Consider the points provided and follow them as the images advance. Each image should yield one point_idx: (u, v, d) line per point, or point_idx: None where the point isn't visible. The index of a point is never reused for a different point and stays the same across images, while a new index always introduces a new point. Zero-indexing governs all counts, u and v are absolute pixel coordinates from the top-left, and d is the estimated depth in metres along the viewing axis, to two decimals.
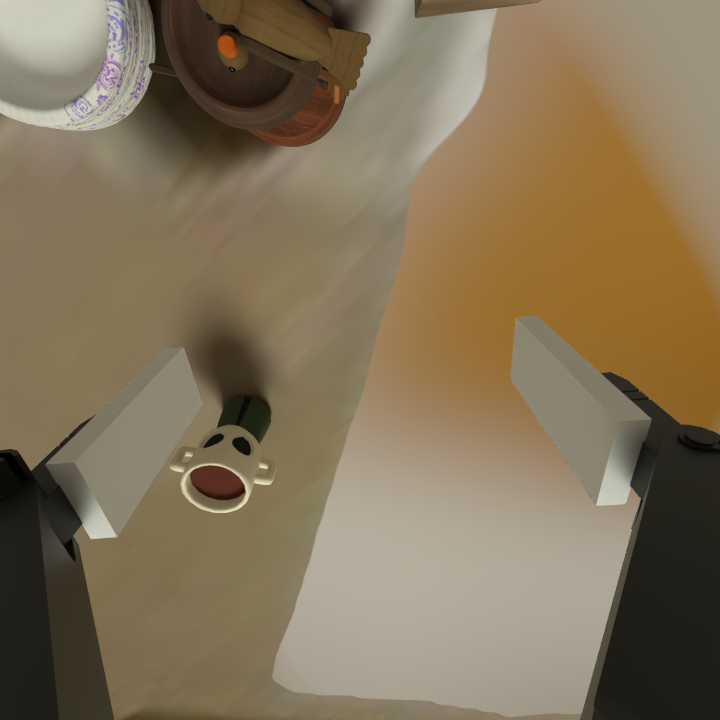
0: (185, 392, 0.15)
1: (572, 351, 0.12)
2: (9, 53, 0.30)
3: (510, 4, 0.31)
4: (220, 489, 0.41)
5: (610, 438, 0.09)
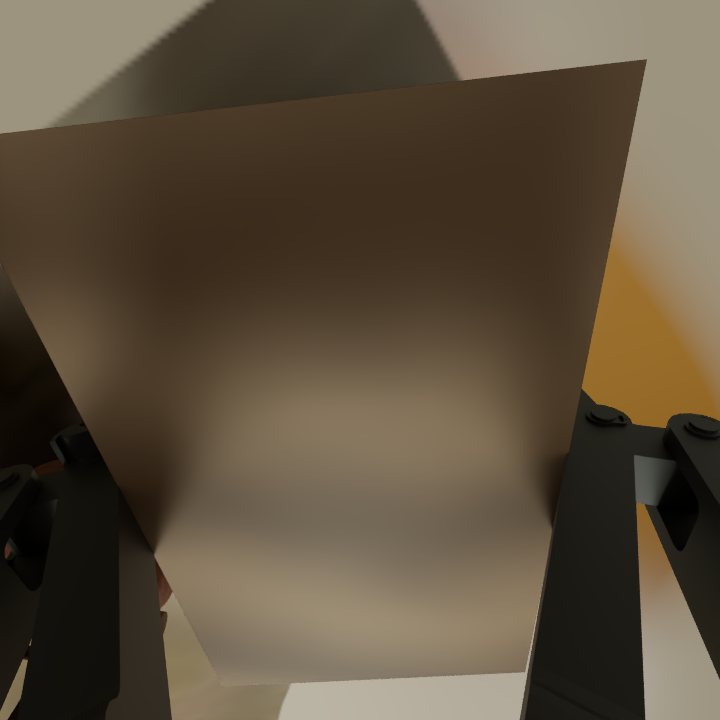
0: None
1: None
2: None
3: None
4: None
5: None
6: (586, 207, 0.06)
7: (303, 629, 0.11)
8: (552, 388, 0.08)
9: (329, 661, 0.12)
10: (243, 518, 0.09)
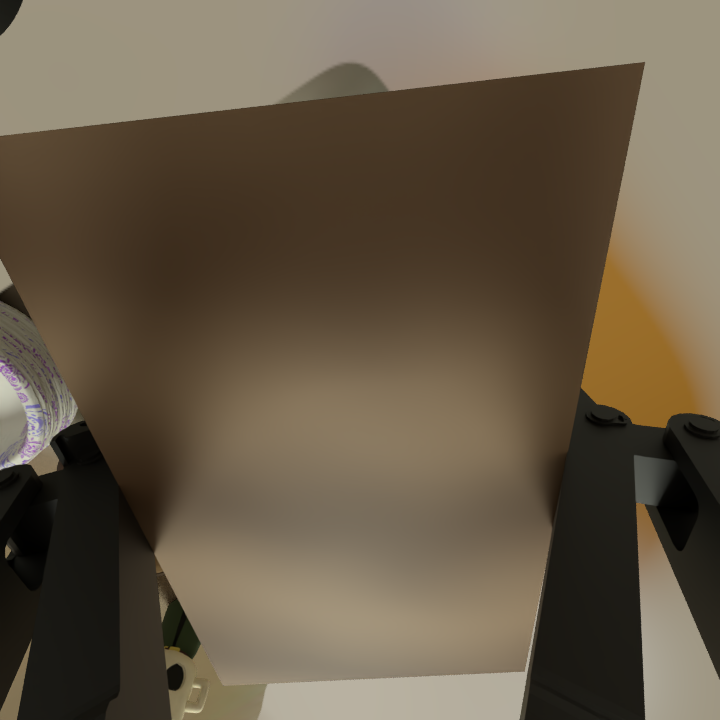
0: None
1: None
2: None
3: None
4: None
5: None
6: (585, 208, 0.06)
7: (303, 628, 0.11)
8: (551, 388, 0.08)
9: (329, 660, 0.12)
10: (243, 518, 0.09)
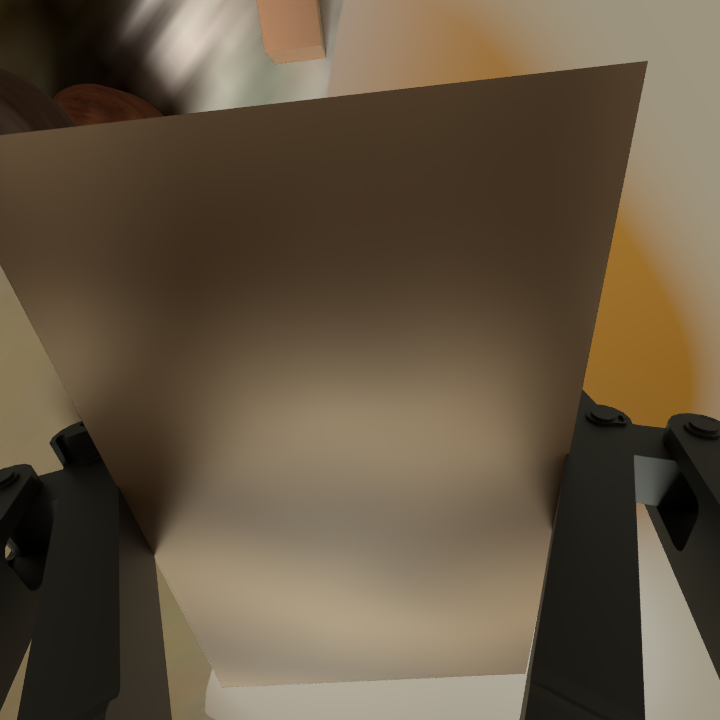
0: None
1: None
2: None
3: None
4: None
5: None
6: (587, 209, 0.06)
7: (303, 630, 0.11)
8: (553, 390, 0.08)
9: (328, 662, 0.12)
10: (242, 519, 0.09)
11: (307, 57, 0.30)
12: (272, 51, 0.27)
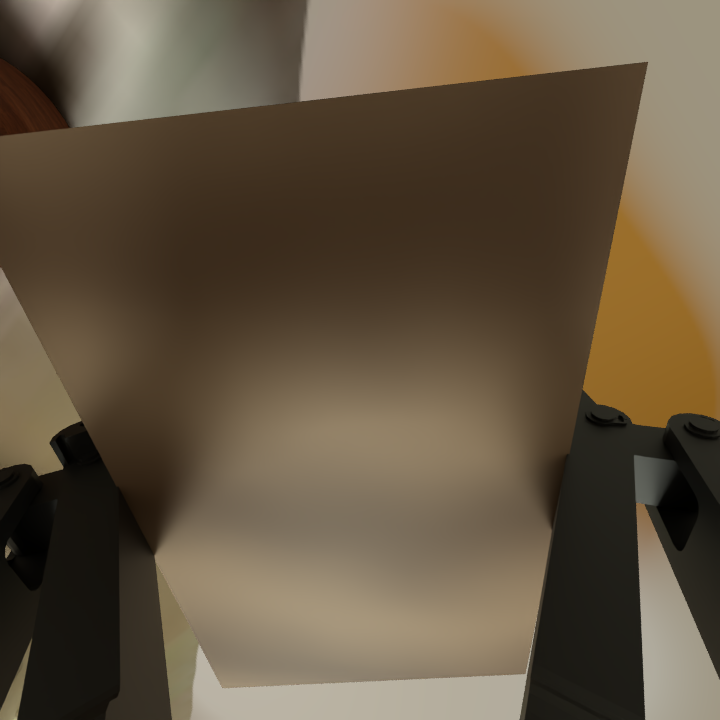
0: None
1: None
2: None
3: None
4: None
5: None
6: (587, 209, 0.06)
7: (303, 631, 0.11)
8: (553, 390, 0.08)
9: (328, 663, 0.12)
10: (242, 520, 0.09)
11: None
12: None
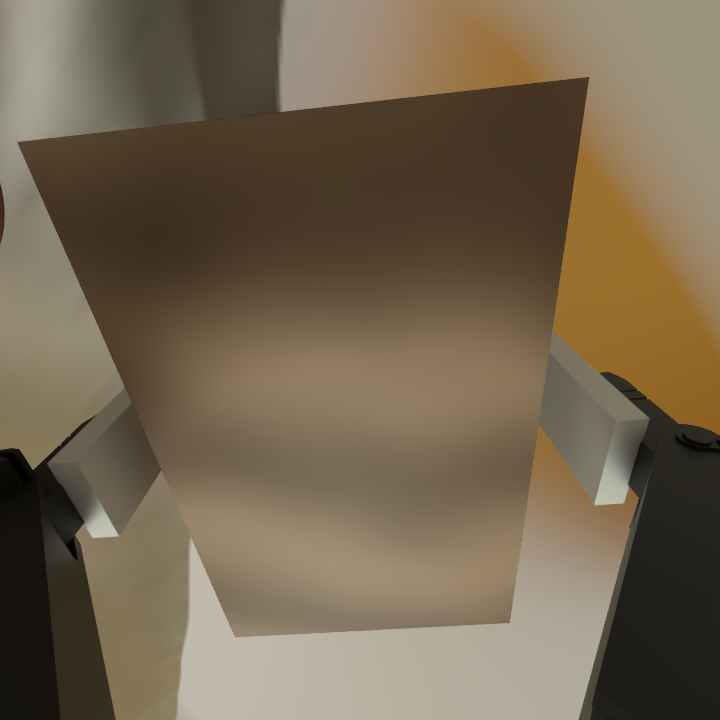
0: None
1: (570, 351, 0.12)
2: None
3: None
4: None
5: (608, 437, 0.09)
6: (546, 196, 0.07)
7: (309, 580, 0.13)
8: (524, 352, 0.09)
9: (331, 611, 0.14)
10: (257, 472, 0.11)
11: None
12: None
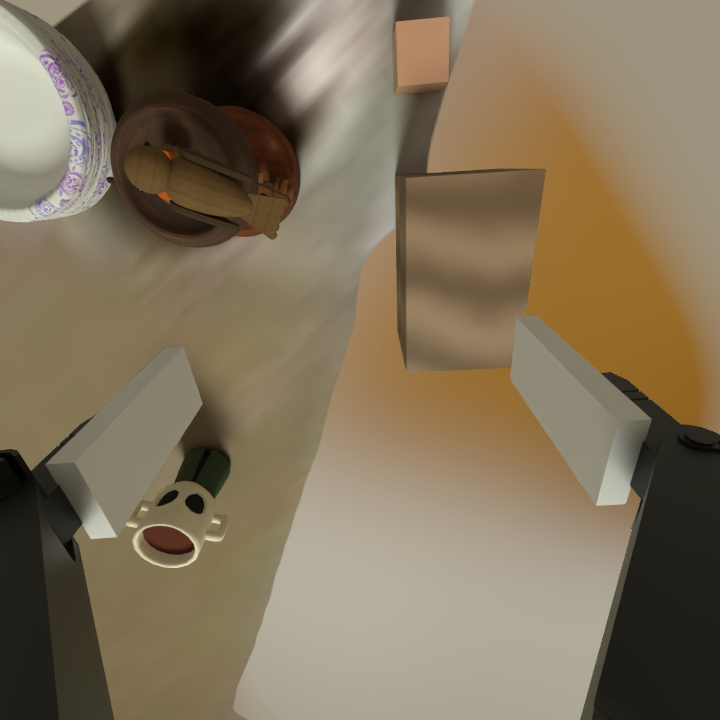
0: (185, 392, 0.15)
1: (572, 351, 0.12)
2: None
3: None
4: (172, 544, 0.43)
5: (610, 438, 0.09)
6: (535, 196, 0.28)
7: (443, 339, 0.34)
8: (528, 243, 0.30)
9: (448, 358, 0.34)
10: (437, 285, 0.32)
11: (425, 90, 0.33)
12: (404, 85, 0.31)
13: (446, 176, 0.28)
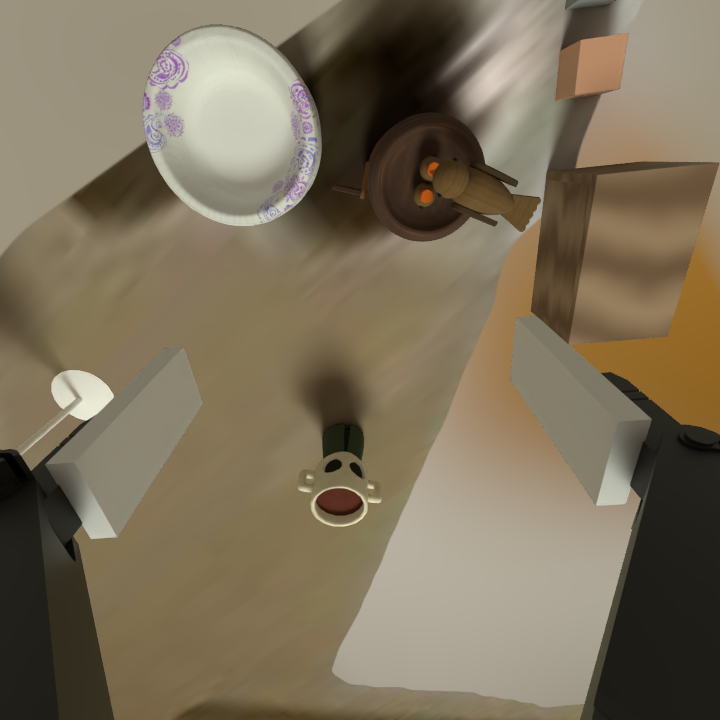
0: (185, 392, 0.15)
1: (572, 351, 0.12)
2: (207, 166, 0.38)
3: None
4: (339, 506, 0.49)
5: (610, 438, 0.09)
6: (706, 186, 0.33)
7: (606, 314, 0.39)
8: (694, 226, 0.35)
9: (607, 330, 0.39)
10: (609, 267, 0.36)
11: (587, 95, 0.38)
12: (580, 94, 0.35)
13: (632, 172, 0.33)
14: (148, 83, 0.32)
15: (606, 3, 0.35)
